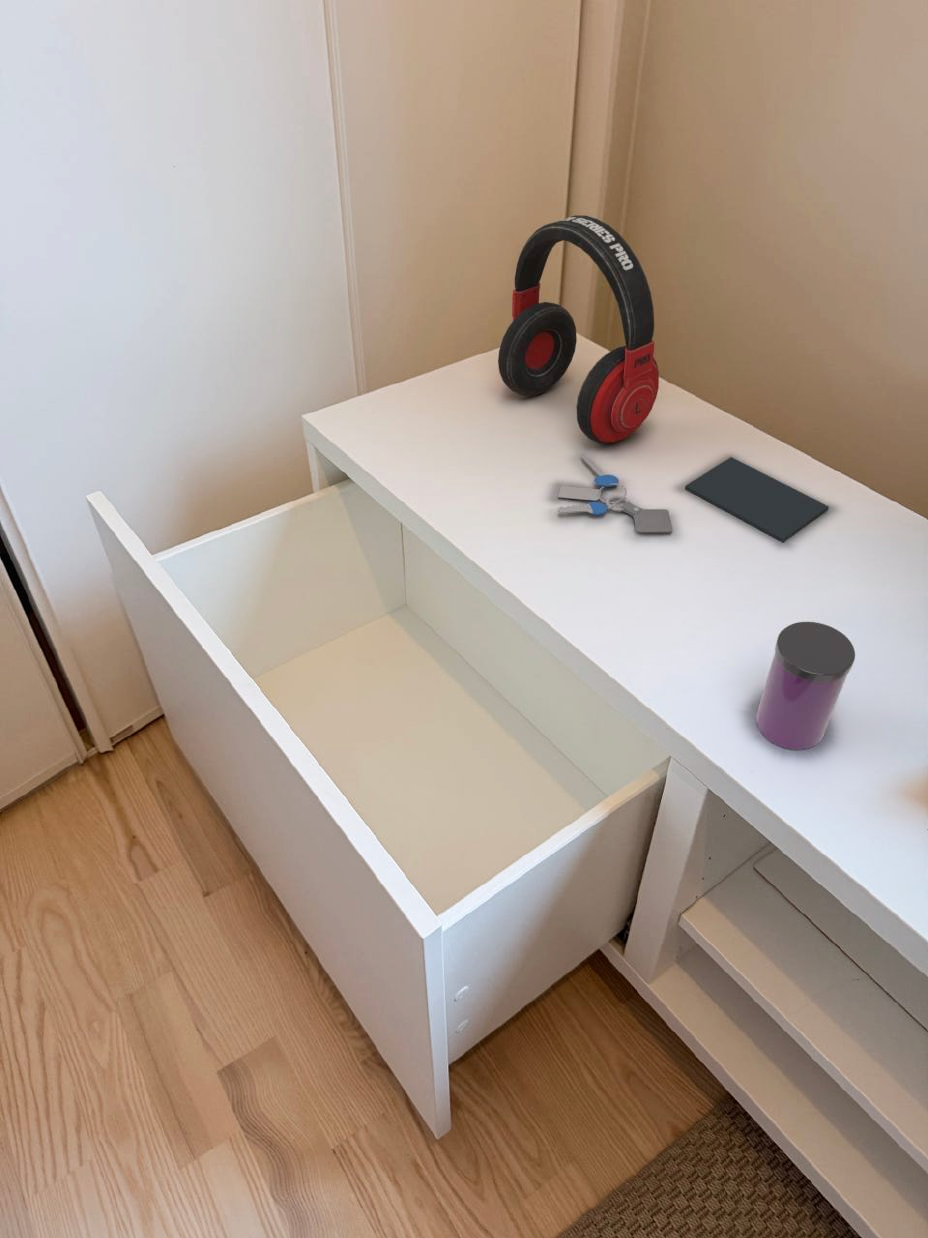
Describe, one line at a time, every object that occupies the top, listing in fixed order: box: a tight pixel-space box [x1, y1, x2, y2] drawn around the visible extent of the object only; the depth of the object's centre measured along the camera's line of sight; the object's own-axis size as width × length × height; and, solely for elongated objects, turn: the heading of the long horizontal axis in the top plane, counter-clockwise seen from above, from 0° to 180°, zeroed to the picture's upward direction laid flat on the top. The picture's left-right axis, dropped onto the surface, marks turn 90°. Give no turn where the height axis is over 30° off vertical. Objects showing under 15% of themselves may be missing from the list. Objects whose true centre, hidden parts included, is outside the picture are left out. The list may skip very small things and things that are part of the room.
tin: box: [755, 621, 856, 751], centre depth 65 cm, size 5×5×8 cm
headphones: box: [497, 214, 660, 445], centre depth 92 cm, size 18×10×20 cm, turn 37°
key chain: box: [557, 453, 674, 533], centre depth 87 cm, size 14×8×1 cm, turn 36°
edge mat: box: [684, 456, 830, 543], centre depth 87 cm, size 11×7×1 cm, turn 41°
